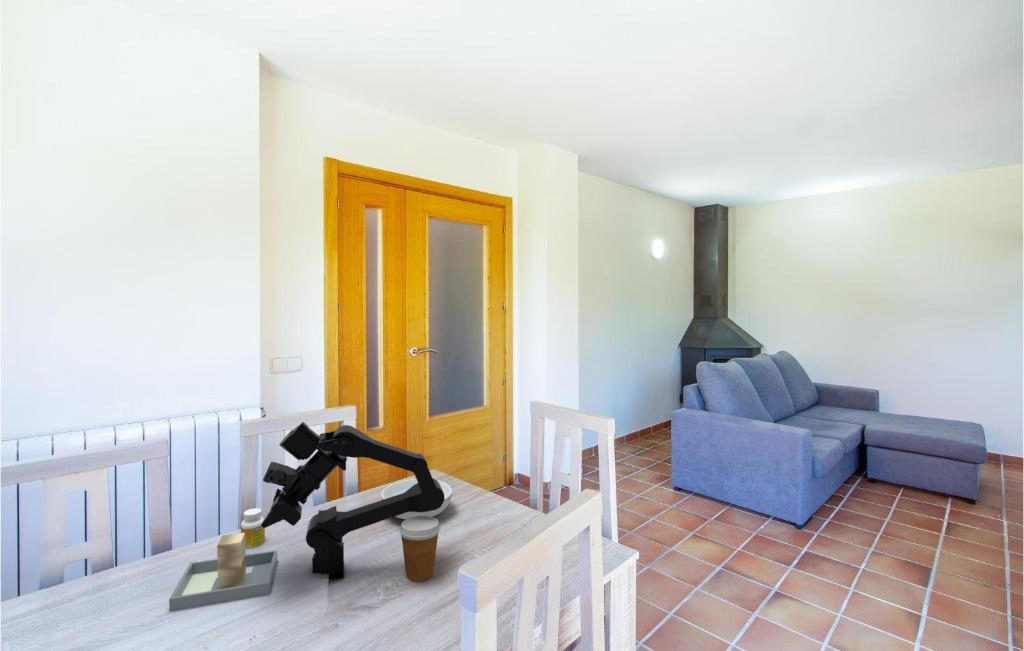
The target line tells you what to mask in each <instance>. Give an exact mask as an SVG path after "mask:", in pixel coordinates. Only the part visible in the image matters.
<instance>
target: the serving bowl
mask: <svg viewBox="0 0 1024 651" xmlns="http://www.w3.org/2000/svg"><path fill="white" fill-rule="evenodd" d="M436 480H437V481H438V482H439V484H440V486H441V488H442V490H443V493H444V497H445V499H444V502H443V504H442V506H441V507H440V508H439V509H437V510H434V511H428V512H407V513H404V514H401V515H398V516H395V517H394V518H398V519H401V520H406V519H408V518H411V517H416V516H430V517H435V516H438V515H439V514H441V513H443V511H445V510H446V509H447V507H448V506H449V504H450V502H451V499H452V496H453V489H452V486H450V485H449V484H447V483H446V482H444V481H442V480H438V479H436ZM417 483H418V482H417V479H416V478H411V479H405V480H400V481H396V482H394V483H391V484H389V485H388V486H386V487H385V488H383V490H382V491H381V493H380V494H381V500H384V499H387V498H390V497H393V496H396V495H399V494H402V493H404V492H406V491H407V490H408V489H410V488H411V487H412V486H413V485H415V484H417Z"/></svg>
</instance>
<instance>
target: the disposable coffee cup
mask: <svg viewBox="0 0 1024 651" xmlns="http://www.w3.org/2000/svg"><path fill="white" fill-rule="evenodd" d="M400 525H401V526H400V527H399V530H398V532H399V534H400V536H401V544H402V552H403V560H404V561H403V562H404V569H405V570H404V571H405V576H406V579H408V580H411V581H414V582H415V581H416V582H417V581H419V582H421V581H425V580H428V579H430V578H431V577H433V575H434V570H435V568H434V567H435V562H436V554H437V553H436V552H437V547H438V546H437V545H438V538H439V533H440V531H441V525H440V523H439V520H438V519H437V518H436V517H435V516H433V517H430V516H416V517H411V518H408V519H403V521H402V522H401V524H400Z"/></svg>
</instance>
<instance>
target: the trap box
mask: <svg viewBox="0 0 1024 651" xmlns="http://www.w3.org/2000/svg"><path fill="white" fill-rule="evenodd" d="M245 561H246V567H251V566H253V567H252V569H251V571H250V572H246V576H245V579H244V582H243V585H242V586H237V587H231V588H225V589H219V590H218V560H217V558H214V559H205V560H200V561H193V562H190V563H189V565H188V566H187V568H186V569H185V571H184V573H182V574H183V575H182V576H181V578H180V580H179V582H178V583H177V585H176V587H175V588H174V589H173V592H172V594H171V595H170V597H169V599H168V604H169V612H175V611H180V610H185V609H192V608H197V607H204V606H209V605H214V604H215V605H216V604H220V603H226V602H227V603H228V602H233V601H238V600H244V599H245V600H246V599H251V598H255V597H256V598H257V597H263V596H268V595H269V594H270V591H271V588H272V583H273V580H274V575H275V572H276V568H277V564H278V550H277V549H275V550H269V551H268V550H267V551H263V552H262V551H261V552H255V553H247V554H245Z"/></svg>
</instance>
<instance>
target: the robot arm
mask: <svg viewBox="0 0 1024 651" xmlns="http://www.w3.org/2000/svg"><path fill="white" fill-rule="evenodd" d="M278 445H279V446H280V447H281V448H282V449H283V450H285V452H288V454H290V455H291V456H292V457H293V458H295V459H296V460H298V461H300V460H302V461H305V460H307V461H306V462H305V463H304V465H303V464H301V465H298V466H297V467H296V468H293V467H291V466H290V465H285V464H282V463H280V462H275V461H270V463H269V465H268V468H267V470H266V472H265V473H264V476H263V478H262V481H263V482H264V483H266V484H274V485H277V486H280V487H282V489H279V488H276V491H275V495H274V497H273V500H272V504H271V508H270V510H269V511H268V513H267V514H266V516H265V517H264V520H263V522H262V524H261V526H262V527H263V528H265V529H266V528H268V527H270V526H272V525H275V524H277V523H279V522H281V521H285V522H287V523H288V524H289V525H291V526H295V525H297V523H298V522H299V521H300V520H301V519H302V515H303V506H302V505H305V504H306V503H307V502H308V498H309V497H310V496H311V494H312V493H313V492H314V491H315V490H316V491H318V490H319V489H320V488H321V484H322V483H323V482H324V481H325V480H326V479H327V477H329V476H330V474H332V472H333V471H335V469H336V468H337V467H338V468H339V469H341V470H342V471H343V472H345V471H346V470H347V461H348V458H366V459H371V460H374V461H377V462H379V463H383V464H386V465H390V466H393V467H396V468H398V469H403V470H405V471H408V472H412V473H413V475H414V477H415V479H417V482H418V483H417V484H415V485H413V486H412V487H411V488H410V489H408V490H407V491H406V492H404V493H402V494H399V495H396V496H393V497H390V498H387V499H384V500H382V499H381V500H378V501H376V502H372V503H368V504H366V505H363V506H359V507H356V508H354V509H351V510H347V511H338V509H337V506H336V505H334V506H331V507H330V508H327V509H323V510H318V512H317V514H315V515H313V516H312V517H311V519H310V520H309V521H308V524H307V529H306V535H305V542H306V544H307V546H308V547H310V548H311V549H313V550H314V553H312V559H311V570H312V571H311V573H312V574H321V575H328V577H327V580H328V581H333V580H339V579H343V578H345V554H344V553H345V550H344V549H345V546H344V545H345V544H344V542H343V539H344V538H343V537H345V536H346V535H348V534H349V533H350V532H354V531H357V530H359V529H362V528H365V527H368V526H372V525H374V524H377V523H380V522H383V521H386V520H389V519H391V518H396V517H395V516H398V515H401V514H404V513H407V512H428V511H434V510H437V509H439V508H440V507H441V506H442V504H443V502H444V499H445V497H444V493H443V490H442V488H441V486H440V484H439V482H438V481H439V480H438V479H435V478H433V476H432V474H431V473H432V472H431V471H430V469H429V466H428V461H427V459H426V457H425V456H424V455H423V454H421V453H415V452H412V451H409V450H406V449H404V448H400V447H397V446H394V445H390V444H387V443H385V442H382V441H378V440H376V439H374V438H372V437H370V436H368V435H367V434H365V433H364V432H363V431H361V430H359V429H357V428H355V427H354V426H352V425H347V424H343V425H341V426H339V427H337V428H336V429H335V430H331V431H327V432H323V433H320V434H318V433H316V432H315V431H314V430H313V429H311V428H310V427H309V426H308V424H307V423H306V422H304V421H302V422H301V423H300V424H299V425H297V426H296V427H295V428H293V429H291V430H290V431H289V432H288V433H287V434H286V435H285V437H284V438H283V439H282V440H281V441H280V443H279V444H278ZM437 480H438V481H437Z"/></svg>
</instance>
